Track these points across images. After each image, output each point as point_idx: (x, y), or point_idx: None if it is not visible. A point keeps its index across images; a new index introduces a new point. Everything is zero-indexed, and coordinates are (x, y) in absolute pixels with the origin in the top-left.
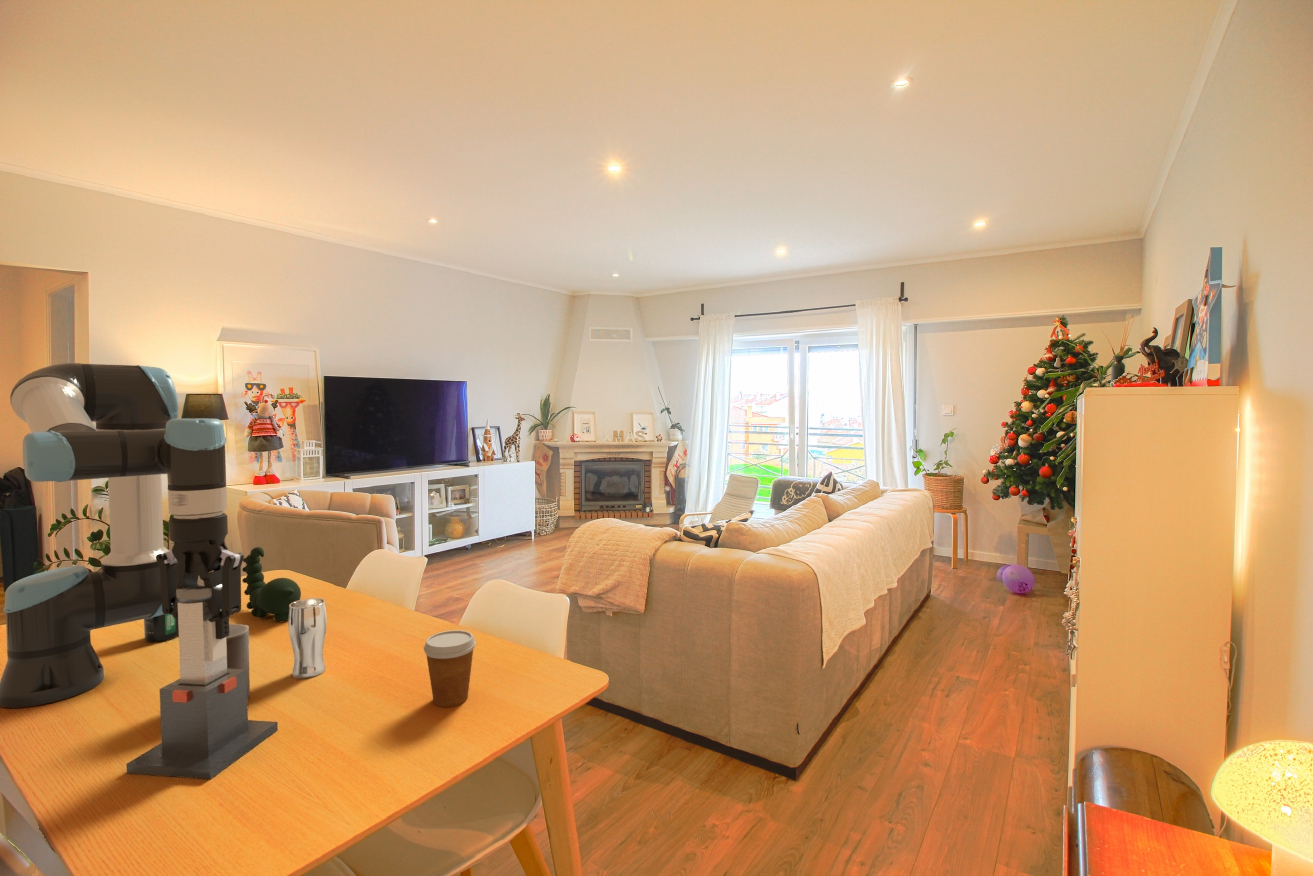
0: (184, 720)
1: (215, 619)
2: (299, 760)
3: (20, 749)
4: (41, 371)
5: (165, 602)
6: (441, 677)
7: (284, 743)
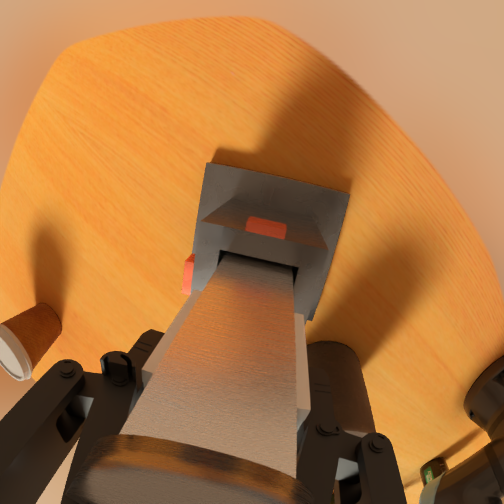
0: (267, 219)
1: (104, 356)
2: (121, 203)
3: (490, 274)
4: None
5: (383, 478)
6: (22, 317)
7: (161, 249)
